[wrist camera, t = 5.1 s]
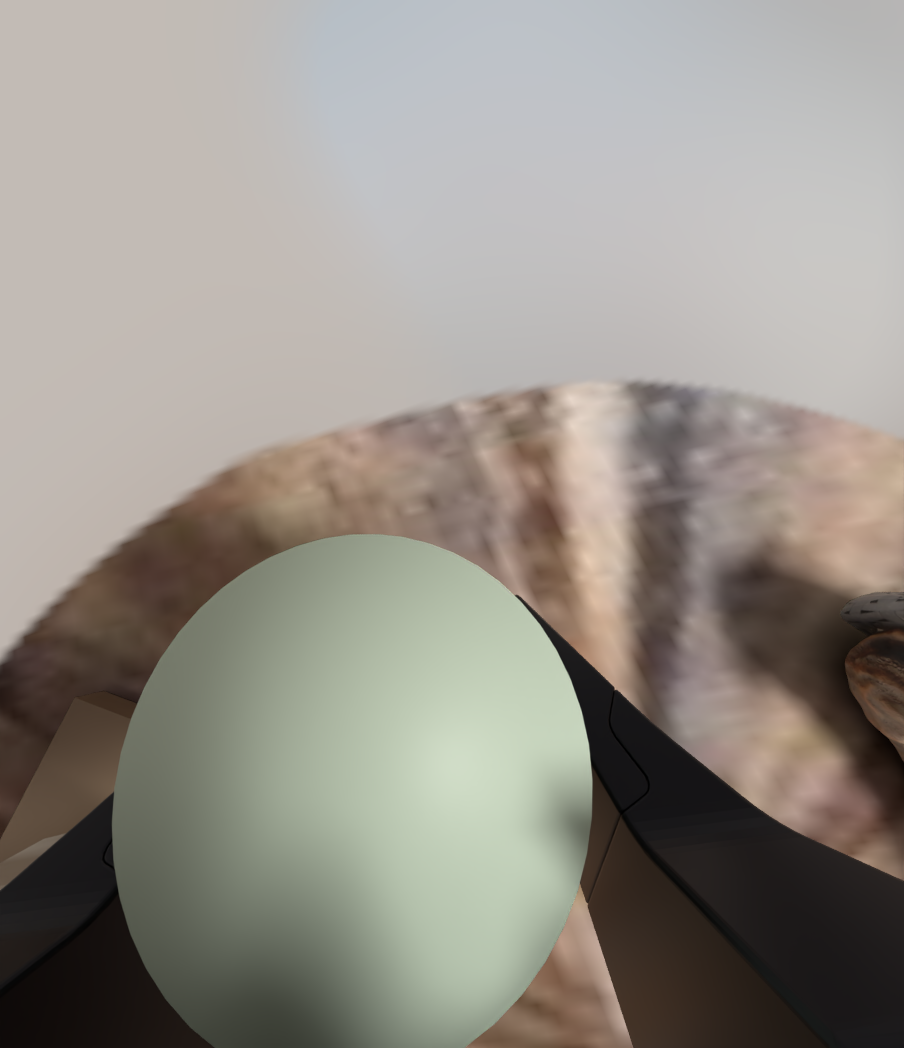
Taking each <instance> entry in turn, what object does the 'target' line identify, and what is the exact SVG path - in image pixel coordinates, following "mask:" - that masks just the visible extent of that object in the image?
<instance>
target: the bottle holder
mask: <svg viewBox="0 0 904 1048" xmlns="http://www.w3.org/2000/svg"><path fill="white" fill-rule="evenodd" d="M136 706H137V703H134V702H132V701H129V700H126V699H124V698H121V697H118V696H116V695H113V694H110V693H108V692H105V691H101V692H97V693H92V694H88V695H84V696H79V697H75V698H74V700H73V701H72V703H71V705H70V707H69V709H68V711H67V713H66V715H65V717H64V719H63V721H62V722H61V724H60V726H59V728H58V730H57V732H56V734H55V736H54V738H53V740H52V742H51V743H50V745H49V747H48V749H47V751H46V753H45V755H44V757H43V759H42V761H41V763H40V764H39V766H38V768H37V770H36V772H35V774H34V776H33V778H32V780H31V782H30V784H29V785H28V787H27V789H26V791H25V793H24V795H23V797H22V799H21V801H20V803H19V805H18V806H17V808H16V810H15V812H14V814H13V816H12V818H11V820H10V822H9V824H8V826H7V827H6V829H5V831H4V833H3V835H2V837H1V839H0V890H1V889H2V888H3V887H5V886H6V885H7V884H8V883H9V882H10V881H12V880H13V879H14V878H15V877H16V876H17V875H18V874H20V873H21V872H22V871H23V870H24V869H25V868H27V867H28V866H29V865H30V864H31V863H32V862H33V861H35V860H36V859H37V858H38V857H39V856H40V855H42V854H43V853H44V852H45V851H46V850H47V849H49V848H50V847H51V846H52V845H53V844H54V843H55V842H57V841H58V840H59V839H60V838H61V837H62V836H64V835H65V834H66V833H67V832H68V831H69V830H70V829H72V828H73V827H74V826H75V825H76V824H77V823H79V822H80V821H81V820H82V819H83V818H84V817H85V816H87V815H88V814H89V813H90V812H91V811H92V810H93V809H95V808H96V807H97V806H98V805H99V804H100V803H101V802H102V801H104V800H105V799H106V798H107V797H108V796H109V795H110V794H111V793H113V792H114V787H115V782H116V777H117V771H118V766H119V760H120V755H121V751H122V747H123V744H124V741H125V737H126V734H127V731H128V727H129V724H130V721H131V718H132V715H133V713H134V711H135V708H136Z"/></svg>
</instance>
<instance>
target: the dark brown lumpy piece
mask: <svg viewBox="0 0 904 1048" xmlns="http://www.w3.org/2000/svg"><path fill="white" fill-rule="evenodd" d="M840 615H841V617H842V619H844V620H845V621H846V622H847V623H849V624H850V625H852V626H853V627H855V628H856V629H858V630H860V631H862V632H863V633H865V634H866V635H867V636H868V637H867V638H865V639H863V640H862V641H861V642H860V643H859V644H857V645H856V646H855V647H853V648H852V649H851V650H850V651H849V653H848V655H847V656H846V659H845V671H846V674H847V677H848V683H849V688H850V690H851V692H852V694H853V695H854V697H855V698H856V700H857V701H858V702H859V704H860V705H861V707H862V709H863V711H864V714H865V716H866V718H867V719H868V720H869V721H870V722H871V723H872V724H873V725H874V726H875V727H876V728H877V729H878V730H879V731H880V732H882V733H883V734H884V735H885V736H887V737H888V739H889V740H890V741H891V742H892V743H893V745H894V746H895V748H896V749H897V751H898V753H899V754H900V756H901V758H902V760H903V761H904V592H876V593H871V594H867V595H863V596H861V597H858V598H856V599H853V600H851V601H849V602H848V603H847V604H846V605H845V606H844V607H843V609H842V610H841V612H840Z"/></svg>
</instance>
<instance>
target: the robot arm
mask: <svg viewBox="0 0 904 1048" xmlns="http://www.w3.org/2000/svg"><path fill="white" fill-rule="evenodd" d="M514 596H515V597H517V598H518V599H519V600H520V601H521V602H522V603H523V605H524V606H525V607H526V608H527V610H528V611H529V612H530V613H531V614H532V616H533V617H534V618H535V619H536V620H537V622H538V623H539V624H540V625H541V627H542V628H543V630H544V632H545V633H546V635H547V636H548V638H549V639H550V641H551V642H552V644H553V646H554V647H555V649H556V650H557V652H558V654H559V656H560V658H561V661H562V663H563V665H564V667H565V669H566V671H567V673H568V675H569V677H570V679H571V682H572V685H573V688H574V691H575V694H576V696H577V699H578V702H579V705H580V708H581V711H582V716H583V720H584V725H585V729H586V734H587V738H588V743H589V751H590V761H591V771H592V819H591V827H590V835H589V843H588V850H587V856H586V860H585V864H584V868H583V872H582V876H581V880H580V884H581V888H582V891H583V894H584V897H585V900H586V902H587V903H588V909H589V912H590V916H591V919H592V922H593V925H594V928H595V931H596V934H597V937H598V940H599V943H600V946H601V949H602V952H603V955H604V959H605V962H606V965H607V968H608V971H609V974H610V977H611V980H612V983H613V986H614V989H615V992H616V995H617V999H618V1002H619V1005H620V1008H621V1011H622V1014H623V1017H624V1020H625V1023H626V1026H627V1029H628V1032H629V1035H630V1038H631V1042H632V1045H633V1048H904V881H903V880H900V879H898V878H896V877H894V876H892V875H889V874H887V873H885V872H883V871H881V870H878V869H876V868H874V867H872V866H870V865H867V864H865V863H863V862H861V861H859V860H856V859H854V858H852V857H850V856H848V855H845V854H843V853H841V852H839V851H837V850H834V849H832V848H830V847H828V846H826V845H823V844H821V843H819V842H817V841H815V840H812V839H810V838H808V837H806V836H804V835H802V834H800V833H798V832H796V831H794V830H792V829H790V828H788V827H787V826H785V825H783V824H781V823H780V822H778V821H777V820H775V819H773V818H772V817H770V816H769V815H767V814H766V813H764V812H763V811H761V810H760V809H759V808H757V807H756V806H754V805H753V804H752V803H750V802H749V801H748V800H747V799H745V798H744V797H743V796H741V795H740V794H739V793H738V792H736V791H735V790H734V789H733V788H732V787H730V786H729V785H728V784H727V783H725V782H724V781H723V780H722V779H720V778H719V777H718V776H717V775H715V774H714V773H713V772H712V771H710V770H709V769H708V768H707V767H706V766H704V765H703V764H702V763H701V762H699V761H698V760H697V759H696V758H694V757H693V756H692V755H691V754H689V753H688V752H687V751H686V750H685V749H683V748H682V747H681V746H680V745H678V744H677V743H676V742H675V741H674V740H672V739H671V738H670V737H669V736H668V735H666V734H665V733H664V732H663V731H662V730H660V729H659V728H658V727H657V726H656V725H654V724H653V723H652V722H651V721H650V720H649V719H648V718H647V717H646V716H644V715H643V714H642V713H641V712H640V711H639V710H638V709H637V708H636V707H635V706H634V705H632V704H631V703H630V702H629V701H628V700H627V699H626V698H625V697H624V696H623V695H622V694H621V693H620V692H619V691H618V690H615V691H614V689H615V688H614V686H612V685H611V684H610V683H609V682H608V681H607V680H606V679H605V678H604V677H603V676H602V675H601V674H600V673H599V672H598V671H597V670H596V669H595V668H594V667H593V666H592V665H591V664H590V663H589V662H588V661H586V660H585V659H584V658H583V657H582V656H581V655H580V654H579V653H578V652H577V651H576V650H575V649H574V648H573V647H572V646H571V645H570V644H569V643H568V642H567V641H566V640H565V639H564V638H563V637H562V636H561V635H559V634H558V633H557V632H556V631H555V630H554V629H553V628H552V627H551V626H550V625H549V624H548V623H547V622H546V621H545V620H544V619H543V618H542V617H541V616H540V615H539V614H538V613H537V612H536V611H535V610H533V609H532V608H531V607H530V606H529V605H528V604H527V603H526V602H525V601H524V600H523V599H522V598H521V597H520V596H518V595H514ZM113 801H114V792H113V793H111V794H110V795H109V796H108V797H107V798H106V799H105V800H104V801H102V802H101V803H100V804H99V805H98V806H97V807H96V808H95V809H93V810H92V811H91V812H90V813H89V814H88V815H87V816H85V817H84V818H83V819H82V820H81V821H80V822H79V823H77V824H76V825H75V826H74V827H73V828H72V829H70V830H69V831H68V832H67V833H66V834H65V835H64V836H62V837H61V838H60V839H59V840H58V841H57V842H55V843H54V844H53V845H52V846H51V847H50V848H49V849H47V850H46V851H45V852H44V853H43V854H42V855H40V856H39V857H38V858H37V859H36V860H35V861H33V862H32V863H31V864H30V865H29V866H28V867H27V868H25V869H24V870H23V871H22V872H21V873H20V874H18V875H17V876H16V877H15V878H14V879H13V880H12V881H10V882H9V883H8V884H7V885H6V886H5V887H3V888H2V889H1V890H0V1048H214V1047H213V1046H212V1045H211V1044H210V1043H208V1042H207V1041H206V1040H205V1039H204V1038H202V1037H201V1036H200V1035H199V1034H198V1033H196V1032H195V1031H194V1030H193V1029H191V1028H190V1027H189V1026H188V1024H187V1023H186V1022H185V1021H184V1020H183V1019H182V1017H181V1016H180V1015H179V1014H178V1013H177V1012H176V1011H175V1009H174V1008H173V1007H172V1006H171V1005H170V1004H169V1003H168V1001H167V1000H166V999H165V997H164V996H163V994H162V993H161V991H160V990H159V988H158V986H157V985H156V983H155V982H154V980H153V979H152V977H151V975H150V974H149V972H148V971H147V969H146V967H145V965H144V963H143V961H142V959H141V956H140V954H139V952H138V950H137V948H136V945H135V943H134V941H133V939H132V936H131V934H130V931H129V928H128V924H127V921H126V918H125V914H124V911H123V908H122V904H121V901H120V897H119V891H118V885H117V879H116V873H115V867H114V861H113V839H112V815H113Z"/></svg>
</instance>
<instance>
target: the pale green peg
mask: <svg viewBox="0 0 904 1048" xmlns="http://www.w3.org/2000/svg"><path fill="white" fill-rule="evenodd" d="M591 819H592V771H591V761H590V751H589V743H588V738H587V734H586V729H585V725H584V720H583V716H582V711H581V708H580V705H579V702H578V699H577V696H576V694H575V691H574V688H573V685H572V682H571V679H570V677H569V675H568V673H567V671H566V669H565V667H564V665H563V663H562V661H561V658H560V656H559V654H558V652H557V650H556V649H555V647H554V646H553V644H552V642H551V641H550V639H549V638H548V636H547V635H546V633H545V632H544V630H543V628H542V627H541V625H540V624H539V623H538V622H537V620H536V619H535V618H534V617H533V616H532V614H531V613H530V612H529V611H528V610H527V608H526V607H525V606H524V605H523V603H522V602H521V601H520V600H519V599H518V598H517V597H515V596H514V595H513V594H512V593H511V592H510V591H509V590H508V589H507V588H506V587H505V586H504V585H503V584H502V583H501V582H499V581H498V580H496V579H495V578H494V577H492V576H491V575H490V574H488V573H487V572H485V571H484V570H483V569H481V568H480V567H479V566H477V565H475V564H473V563H471V562H470V561H468V560H466V559H464V558H462V557H460V556H459V555H457V554H455V553H453V552H450V551H448V550H445V549H442V548H440V547H437V546H435V545H432V544H429V543H426V542H422V541H418V540H414V539H409V538H405V537H399V536H390V535H381V534H355V535H344V536H337V537H330V538H324V539H320V540H316V541H313V542H309V543H305V544H302V545H298V546H295V547H293V548H291V549H288V550H286V551H283V552H281V553H279V554H276V555H274V556H271V557H269V558H268V559H266V560H264V561H262V562H260V563H259V564H257V565H255V566H253V567H252V568H250V569H248V570H246V571H245V572H243V573H242V574H241V575H239V576H238V577H237V578H235V579H234V580H232V581H231V582H230V583H228V584H227V585H226V586H224V587H223V588H221V589H220V590H219V591H218V592H217V593H216V594H215V595H214V596H213V597H212V598H211V599H209V600H208V601H207V602H206V603H205V604H204V605H203V606H202V607H201V608H200V609H199V610H198V611H197V612H196V613H195V614H194V615H193V617H192V618H191V619H190V620H189V621H188V622H187V623H186V625H185V626H184V627H183V628H182V629H181V630H180V631H179V633H178V634H177V635H176V637H175V638H174V640H173V641H172V643H171V644H170V645H169V647H168V648H167V650H166V651H165V653H164V654H163V655H162V657H161V658H160V660H159V662H158V664H157V665H156V667H155V669H154V671H153V673H152V674H151V676H150V678H149V680H148V682H147V683H146V685H145V687H144V689H143V692H142V694H141V696H140V699H139V701H138V704H137V706H136V708H135V711H134V713H133V715H132V718H131V721H130V724H129V727H128V731H127V734H126V737H125V741H124V744H123V747H122V751H121V755H120V760H119V766H118V771H117V777H116V782H115V787H114V801H113V815H112V839H113V861H114V867H115V873H116V879H117V885H118V891H119V897H120V901H121V904H122V908H123V911H124V914H125V918H126V921H127V924H128V928H129V931H130V934H131V936H132V939H133V941H134V943H135V945H136V948H137V950H138V952H139V954H140V956H141V959H142V961H143V963H144V965H145V967H146V969H147V971H148V972H149V974H150V975H151V977H152V979H153V980H154V982H155V983H156V985H157V986H158V988H159V990H160V991H161V993H162V994H163V996H164V997H165V999H166V1000H167V1001H168V1003H169V1004H170V1005H171V1006H172V1007H173V1008H174V1009H175V1011H176V1012H177V1013H178V1014H179V1015H180V1016H181V1017H182V1019H183V1020H184V1021H185V1022H186V1023H187V1024H188V1026H189V1027H190V1028H191V1029H193V1030H194V1031H195V1032H196V1033H198V1034H199V1035H200V1036H201V1037H202V1038H204V1039H205V1040H206V1041H207V1042H208V1043H210V1044H211V1045H212V1046H213V1047H214V1048H465V1047H466V1046H467V1045H469V1044H470V1043H471V1042H472V1041H474V1040H475V1039H476V1038H477V1037H479V1036H480V1035H481V1034H482V1033H484V1032H485V1031H486V1030H487V1029H489V1028H490V1027H491V1026H492V1025H494V1024H495V1023H496V1022H497V1021H498V1020H499V1019H500V1018H501V1017H502V1016H503V1014H504V1013H505V1012H506V1011H507V1010H508V1009H509V1008H510V1007H511V1006H512V1005H513V1004H514V1003H515V1002H516V1001H517V1000H518V999H519V997H520V996H521V995H522V994H523V993H524V991H525V990H526V989H527V987H528V986H529V984H530V983H531V981H532V980H533V979H534V977H535V976H536V974H537V973H538V972H539V970H540V969H541V967H542V966H543V965H544V963H545V962H546V960H547V958H548V956H549V954H550V952H551V950H552V949H553V947H554V945H555V943H556V941H557V939H558V937H559V935H560V934H561V932H562V930H563V928H564V925H565V923H566V920H567V918H568V915H569V912H570V910H571V907H572V905H573V902H574V899H575V897H576V894H577V892H578V888H579V884H580V880H581V876H582V872H583V868H584V864H585V860H586V856H587V850H588V843H589V835H590V827H591Z"/></svg>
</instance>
